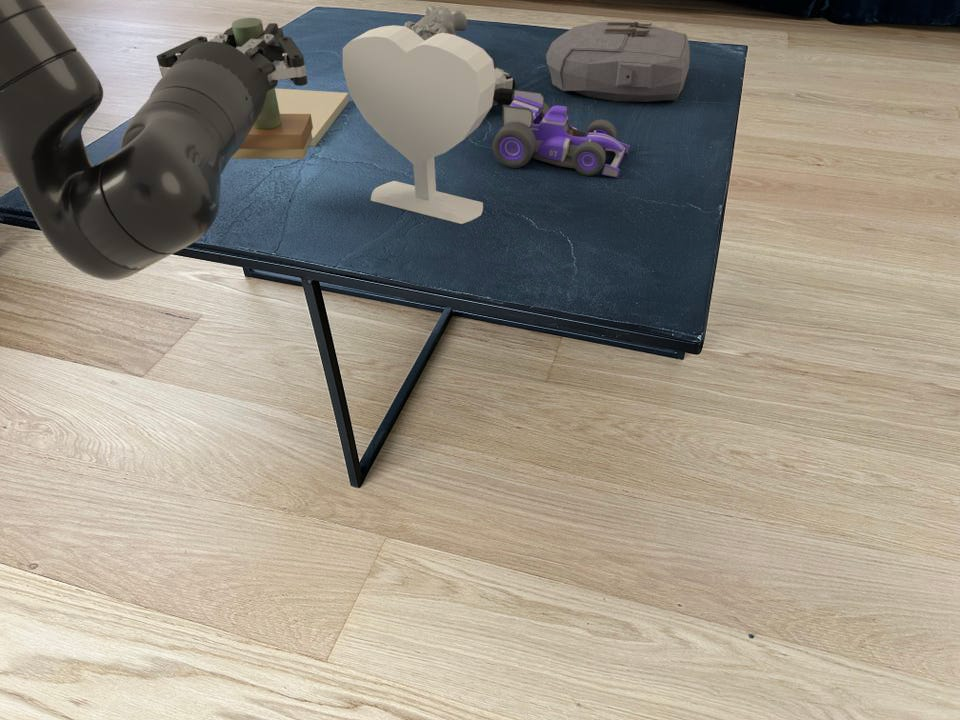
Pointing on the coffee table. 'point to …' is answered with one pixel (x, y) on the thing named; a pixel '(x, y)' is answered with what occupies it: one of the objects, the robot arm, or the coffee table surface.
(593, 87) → the soft grey pack
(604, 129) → the toy race car
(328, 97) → the tile board
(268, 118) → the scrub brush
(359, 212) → the coffee table surface
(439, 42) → the heart sculpture
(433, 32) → the elephant statuette
